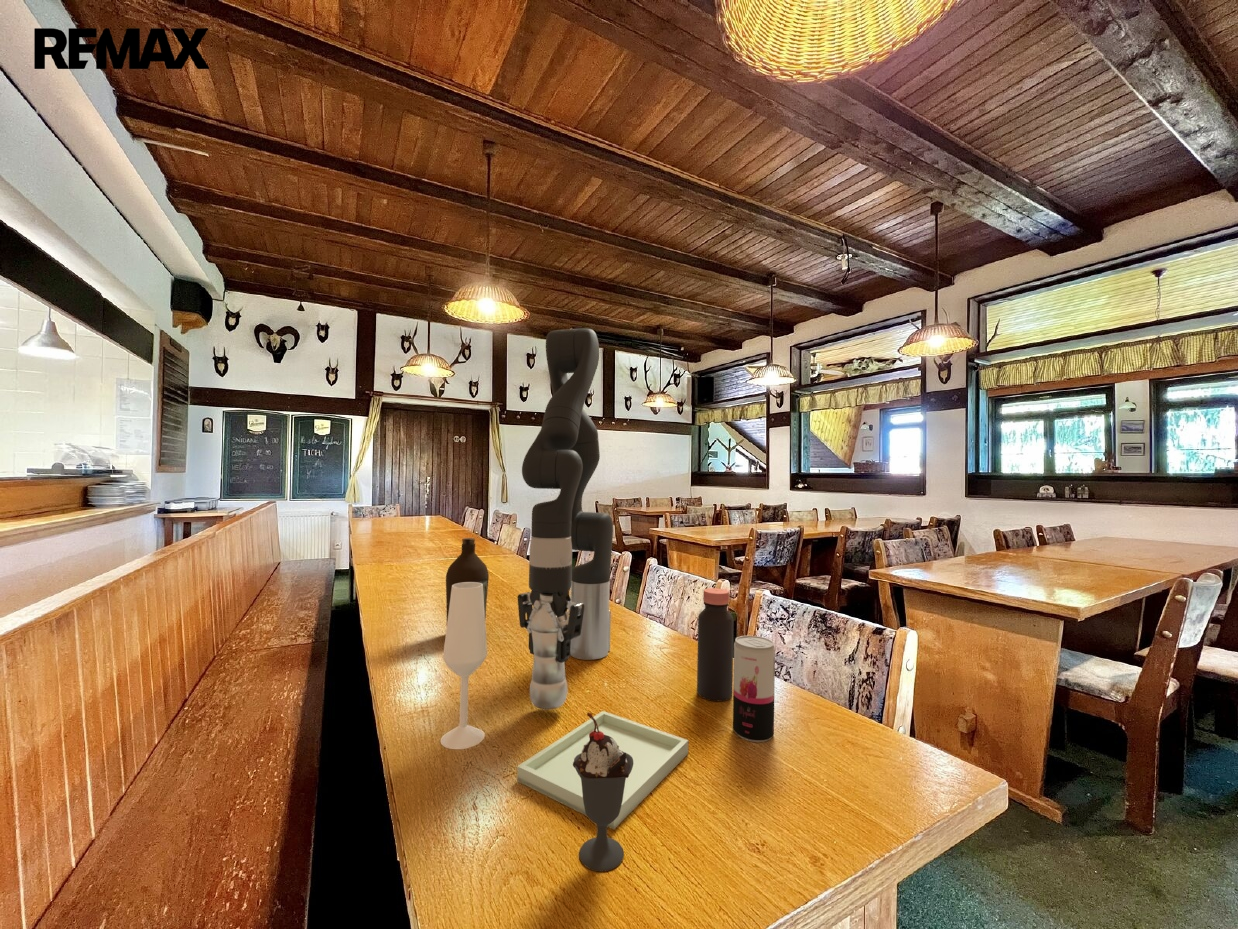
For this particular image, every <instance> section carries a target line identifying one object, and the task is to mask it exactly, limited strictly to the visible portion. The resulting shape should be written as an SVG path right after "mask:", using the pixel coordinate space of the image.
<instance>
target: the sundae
mask: <svg viewBox="0 0 1238 929" xmlns="http://www.w3.org/2000/svg"><path fill="white" fill-rule="evenodd" d="M586 716H587V717H589V718H590V719H592V720H593V721H594V724H595V729H594V731H592V732H591V733H590V734H589V738H590V741H589V742H587V743H586V745H584V748H583V750H582V753H581V754H579V755H577V756H576V757H575V758H574V762H573V767H574V768H575V769H576V771H577V773H578V775H579V776H580V778H581V783H582V793H583V802H584V808H585V813H586V815H587V816H586V815H585V816H586V817H587V818H588V819H589V820H590V822H592V823H593V824H594V825H596V836H595V837H592V838H589V839H588V840H586V841H585V842H584V843H583V844H581V846H580V849H579V852H578V856H579V857H578V858H579V860H580V861H581V863H582V865H584V866H585V867H586V868H587V869H589V870H592V871H595V872H608V871H612V870H614V869H616V868H617V867H618V866H620V864H621V863H622V862H623V859H624V856H625V853H624V852H625V851H624V848H623V847H622V844H620V842H618V840H615V839H613V838H612V837H608V826H607V825H608V824H610V823H612V822H613V821H614V820H615V819H616V818H617V817H618V816H619V813H620V809H621V805H622V801H623V794H624V787H625V781H626V778H628V777H629V774H630V773H631V770H632V768H633V764H634V763H633V758H632V757H631V756H630V755H629V754H627V753H625V752H623V751H621V750H619V746H618V745H617V743H616V741H615V740H614V739H613V738H611V737H610V736H607V735H604V734H603V732H601V731H599V729H598V725H597V722H596V720H595V719H594V718H593V717H594V716H593V713H590V712H587V714H586ZM596 726H597V731H598V732H597V731H596Z"/></svg>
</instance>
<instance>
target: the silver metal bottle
mask: <svg viewBox="0 0 1238 929" xmlns="http://www.w3.org/2000/svg"><path fill="white" fill-rule="evenodd" d="M552 601H553V596H552V594H543V593H541V592H540V604H541V607H540V608H539V610H538V611H536V612H535V614H534V615H533V617H532V620H531V631H532V639H533V652H534V655H533V666H532V675H531V680H530V685H529V690H528V691H529V699H530V702H531V703H532V705H533V706H534V707H535V708H538V709H540V710H554V709H558V708H561V707H562V706H563V705H564V704H565V702H566V700H567V698H568V697H567V696H568V681H567V678H566V669H565V668H566V667H565V662H563V663H561V662H558V661H557V655H558V641H559V639H558V636H557V632H558V628H556V627H555V625H554V621H553V619H552V617H553V616H552V617H551V615H550V614H549V613H547V610H546V607H545V605H546V603H548V602H552ZM557 618H558V621H559V622H562V621H564V620H566V617H565V614H564V615H563V616H561V617H557ZM562 628H563V631H564V633H565V632H566V631H565V630H566V625H563V626H562Z"/></svg>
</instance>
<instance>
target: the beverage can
mask: <svg viewBox="0 0 1238 929" xmlns="http://www.w3.org/2000/svg"><path fill="white" fill-rule="evenodd" d="M775 666H776V647H775V643H774V641H773V640H771V639H769V638H766V637H763V636H758V635H741V636H737V637H735V641H734V642H733V687H732V698H733V700H732V730H733V731H734V733H735V734H736V735H737V736H738V737H740V738H741V739H743V740H745V741H748V742H752V743H765V742H767V741H769V740H770V739H772V738H773V737H774V734H775V689H776V688H775V685H776V684H775V681H776V680H775V678H776V677H775V676H776V674H775V673H776V672H775V670H776V667H775Z"/></svg>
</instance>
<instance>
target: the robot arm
mask: <svg viewBox="0 0 1238 929" xmlns="http://www.w3.org/2000/svg"><path fill="white" fill-rule="evenodd" d="M599 345H600V344H599V340H598V336H597V333H596V332H595V331H594V330H593V329H592V328H569V329H557V330H555V329H554V330H551V331H549V332H548V333H547V335H546V339H545V355H546V356H545V358H546V363H547V368H548V374H549V381H550V386H551V391H552V396H551V398H550V399H549V400H548V402H547V405H546V407H545V410H544V414H543V420H542V424H541V428H540V430H539V432H538V434H537V435H536V436H535V439H534V441H533V442H532V444H531V445H530V447H529V449H528V450H527V452H526V454H525V456H524V458H523V461H522V466H521V474H522V479H523V481H524V482H525V484H526V485H527V486H528V487H530V488H532V489H543V490H544V489H545V490H546V489H547V490H548V489H550V490H560V491H559V494H558V496H557V497H556V498H555V499H553V500H549V501H544V502H539V503H536V504H534V506H533V507H532V510H531V532H530V533H531V539H530V543H529V544H530V545H529V554H528V555H529V560H528V561H529V563H528V565H529V566H528V588H529V589H530V591H527V592H523V593H520V594H517V606H518V607H517V608H518V620H519V626H520V628H524V629H526V631H527V633H528V650H529V655H533V656H534V652H533V639H532V631H531V620H532V617H533V615H534V614H535V612H536V611H538V610H539V608H540V607H541V604H540V592H541V593H543V594H552V596H553V601H552V602H548V603H546V605H545V607H546V610H547V613H549V614H550V615H551V617H552V616H553V617H552V619H553V621H554V625H555V627H556V628H558V632H557V636H558V639H559V641H558V655H557V661H558V662H561V663H563V662H564V663H565V662H567V661H568V660H569V658H570V657H573V658H574V659H578V660H585V661H586V660H587V661H591V660H593V661H594V660H598V659H599V660H600V659H602V658H605V657H607V656H608V654H609V652H610V651H611V628H612V627H611V624H612V623H611V621H612V615H611V614H612V611H611V610H610V590H611V589H610V585H611V584H610V582H611V581H610V579H611V568H612V549H613V539H614V524H613V519H612V517H611V515H610V514H609V513H606V512H595V511H594V512H592V511H591V512H590V511H583V505H582V504H583V502H582V501H583V495H584V492H585V490H586V487H587V486H588V484H589V481H590V480H591V478H592V477H593V475H594V473H595V471H596V470H597V466H598V464H599V462H600V456H601V455H600V442H599V433H598V429H597V427H596V425H595V424H594V422H593V420H592V418H591V417H590V416H589V415H588V413H587V412H586V411H585V410H584V405H585V402H586V399H587V396H588V394H589V392H590V389H591V386H592V383H593V381H594V378H595V375H596V371H597V369H598V366H599V361H600V346H599ZM568 374H572V375H571V376H569V378H568ZM573 550H574V551H580V552H593V556H592V559H591V560H590V561H588V562H585V563H582V564H578V565H575V566H573ZM564 614H565V617H566V620H564V621H562V622H559V621H558V618H557V617H561V616H563V615H564ZM563 625H566V630H565V631H566V632H565V633H564V631H563V628H562V626H563Z"/></svg>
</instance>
